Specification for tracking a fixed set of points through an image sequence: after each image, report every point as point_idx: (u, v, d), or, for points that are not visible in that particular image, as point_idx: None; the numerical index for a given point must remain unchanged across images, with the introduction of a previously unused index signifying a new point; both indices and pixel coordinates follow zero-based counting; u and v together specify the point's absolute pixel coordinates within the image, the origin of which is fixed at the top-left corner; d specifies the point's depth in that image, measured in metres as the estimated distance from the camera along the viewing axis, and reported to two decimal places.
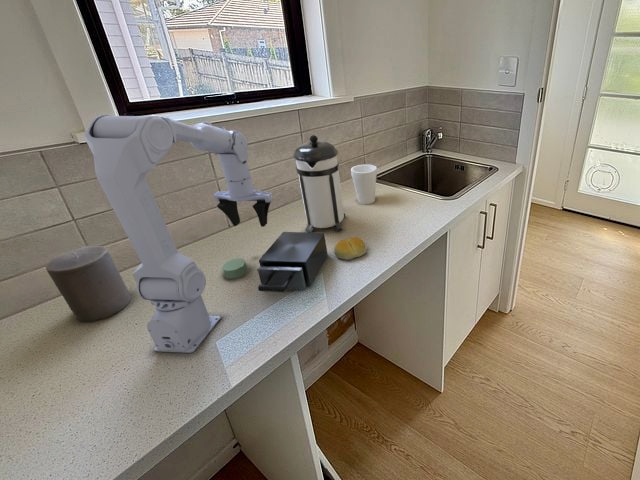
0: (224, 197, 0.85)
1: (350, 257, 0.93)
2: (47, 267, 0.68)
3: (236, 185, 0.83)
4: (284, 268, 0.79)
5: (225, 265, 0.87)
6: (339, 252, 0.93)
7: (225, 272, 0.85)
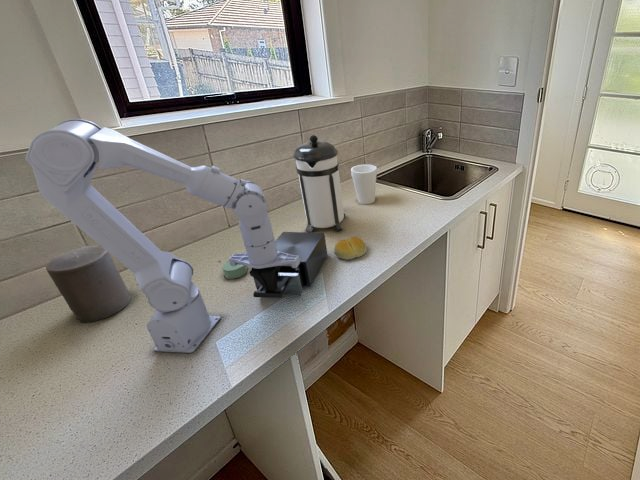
0: (242, 263, 0.70)
1: (350, 257, 0.93)
2: (47, 267, 0.68)
3: (257, 251, 0.68)
4: (280, 274, 0.77)
5: (225, 265, 0.87)
6: (339, 252, 0.93)
7: (225, 272, 0.85)
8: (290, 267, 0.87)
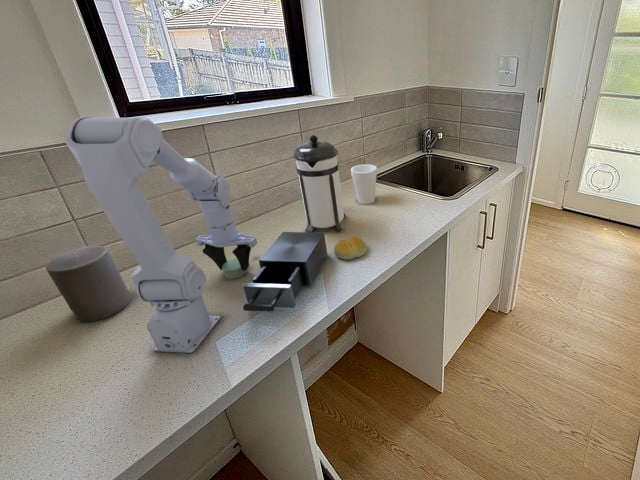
0: (206, 242, 0.82)
1: (350, 257, 0.93)
2: (47, 267, 0.68)
3: (218, 232, 0.80)
4: (272, 285, 0.73)
5: (225, 265, 0.87)
6: (339, 252, 0.93)
7: (225, 272, 0.85)
8: (283, 277, 0.83)
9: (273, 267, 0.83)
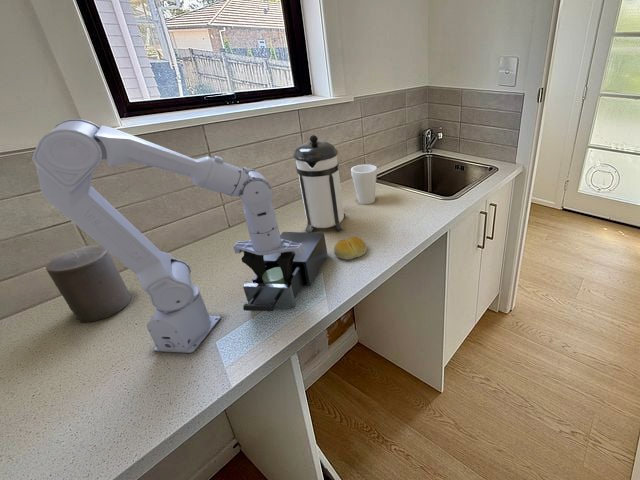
0: (246, 250, 0.72)
1: (350, 257, 0.93)
2: (47, 267, 0.68)
3: (261, 238, 0.69)
4: (272, 285, 0.73)
5: (265, 275, 0.76)
6: (339, 252, 0.93)
7: (266, 283, 0.75)
8: None
9: (273, 267, 0.83)
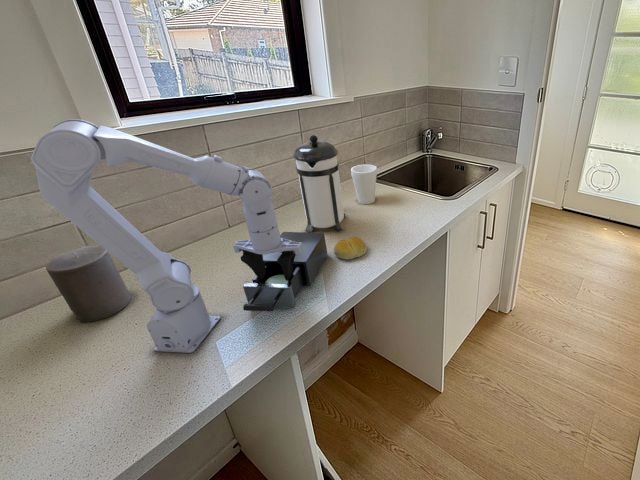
0: (246, 249, 0.72)
1: (350, 257, 0.93)
2: (47, 267, 0.68)
3: (261, 237, 0.69)
4: (272, 285, 0.73)
5: (268, 283, 0.77)
6: (339, 252, 0.93)
7: None
8: None
9: (273, 267, 0.83)
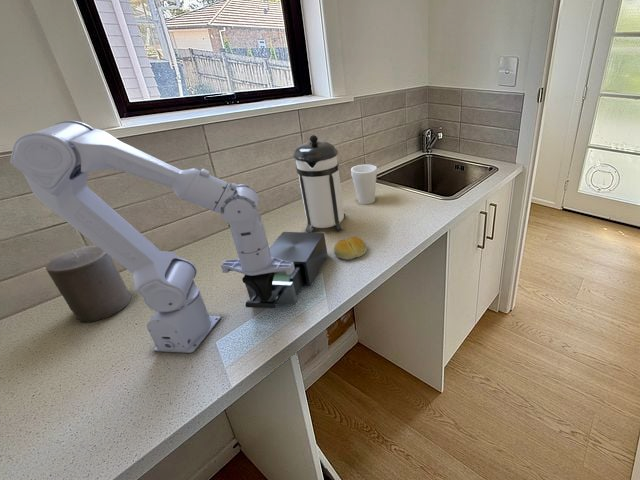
0: (235, 269, 0.68)
1: (350, 257, 0.93)
2: (47, 267, 0.68)
3: (250, 257, 0.65)
4: (274, 282, 0.74)
5: None
6: (339, 252, 0.93)
7: None
8: None
9: None
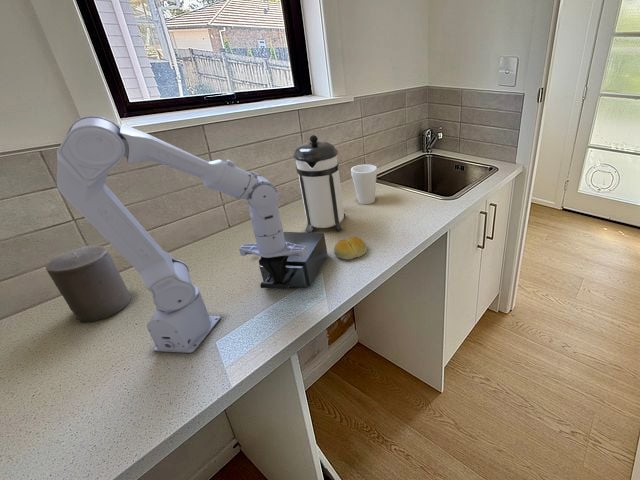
0: (252, 252, 0.74)
1: (350, 257, 0.93)
2: (47, 267, 0.68)
3: (266, 240, 0.71)
4: (286, 265, 0.80)
5: None
6: (339, 252, 0.93)
7: None
8: None
9: None
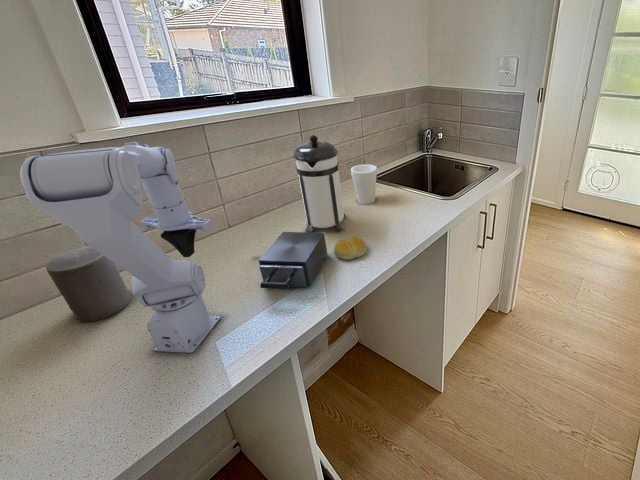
0: (153, 225, 0.72)
1: (350, 257, 0.93)
2: (47, 267, 0.68)
3: (164, 213, 0.69)
4: (286, 265, 0.80)
5: None
6: (339, 252, 0.93)
7: None
8: None
9: None
